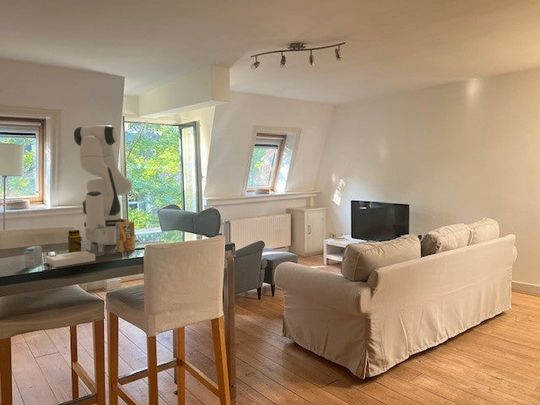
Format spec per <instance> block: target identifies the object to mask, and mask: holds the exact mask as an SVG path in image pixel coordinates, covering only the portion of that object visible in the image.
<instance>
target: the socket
mask: <svg viewBox="0 0 540 405" xmlns="http://www.w3.org/2000/svg"><path fill="white" fill-rule="evenodd" d="M95 261H96V256H95V254H93V253H91V251H90V252H89V251H87V250H81V251H79V252H72V253H66V254H64V253H59V254H52V255H46V256H45V263H46V264H47V265H50V266H52V267H54V268H59V267H64V266H70V265H71V266H72V265H77V264H82V263H84V264H85V263H90V262H95Z"/></svg>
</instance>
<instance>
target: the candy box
mask: <svg viewBox="0 0 540 405" xmlns="http://www.w3.org/2000/svg"><path fill="white" fill-rule="evenodd" d="M115 224H116V252H117V253H124V252H129V251H135V250H136V242H135V237H136V234H134V233H135V222H134V221H132V220H131V221H129V220H127V222H120V223H115Z"/></svg>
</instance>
